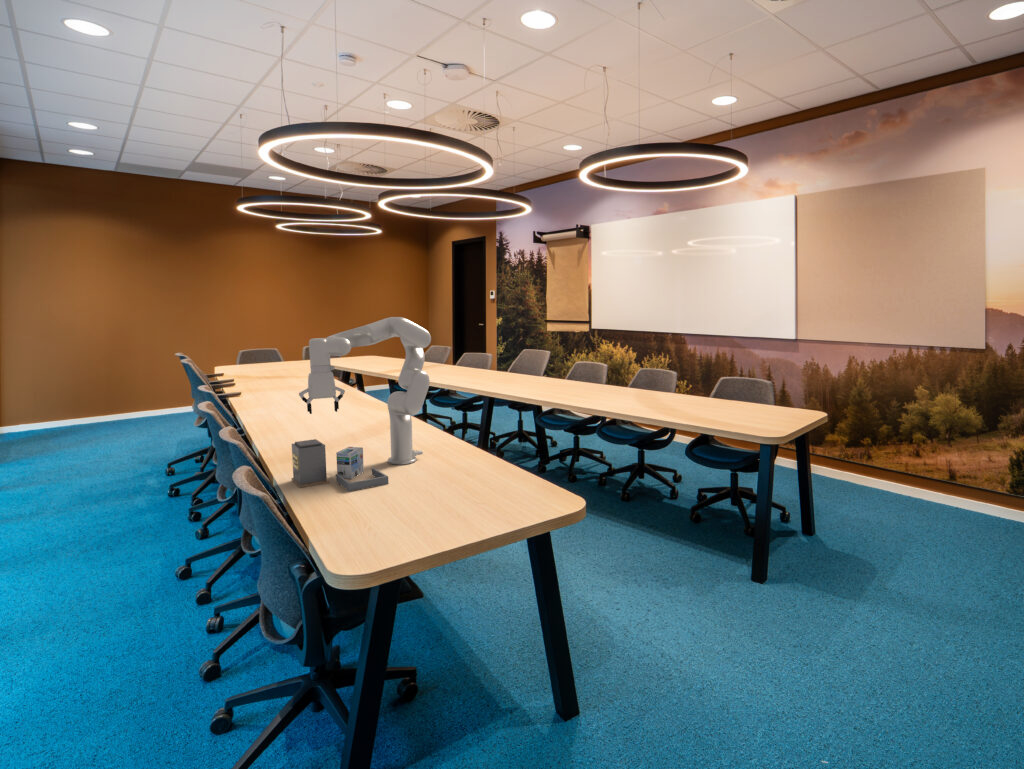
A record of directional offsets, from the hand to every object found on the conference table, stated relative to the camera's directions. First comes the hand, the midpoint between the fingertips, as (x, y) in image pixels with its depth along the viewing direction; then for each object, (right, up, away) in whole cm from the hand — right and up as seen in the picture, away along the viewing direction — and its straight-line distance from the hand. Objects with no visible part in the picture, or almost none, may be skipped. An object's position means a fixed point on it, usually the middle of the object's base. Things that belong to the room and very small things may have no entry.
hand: (323, 412), depth 214 cm
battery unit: (-5, -27, -2) cm, 28 cm away
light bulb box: (+9, -26, +7) cm, 29 cm away
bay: (+16, -27, -3) cm, 32 cm away
